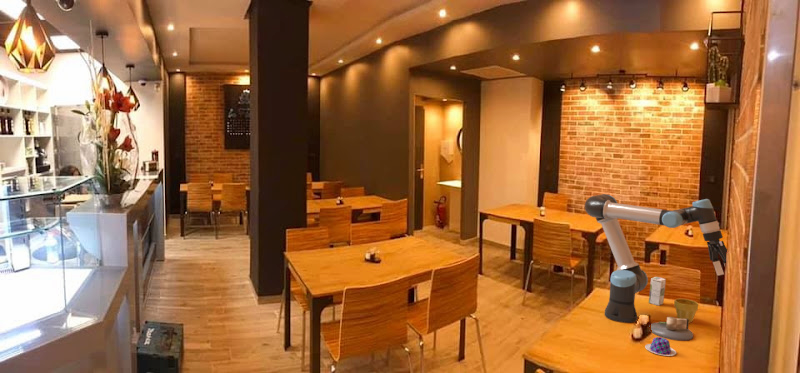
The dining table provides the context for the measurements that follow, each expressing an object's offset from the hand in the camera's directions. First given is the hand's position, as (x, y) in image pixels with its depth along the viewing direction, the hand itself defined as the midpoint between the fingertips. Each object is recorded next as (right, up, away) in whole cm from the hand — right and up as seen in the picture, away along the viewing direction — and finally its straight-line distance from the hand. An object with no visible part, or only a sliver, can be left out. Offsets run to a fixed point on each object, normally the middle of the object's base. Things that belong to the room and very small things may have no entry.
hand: (726, 276), depth 226 cm
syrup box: (-9, -24, +46) cm, 52 cm away
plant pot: (-7, -27, +21) cm, 35 cm away
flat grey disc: (-24, -28, +4) cm, 37 cm away
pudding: (-40, -30, -16) cm, 52 cm away
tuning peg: (-21, -26, +4) cm, 33 cm away
